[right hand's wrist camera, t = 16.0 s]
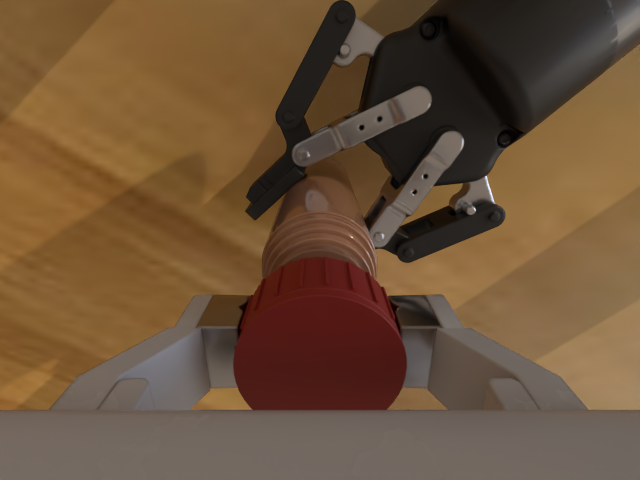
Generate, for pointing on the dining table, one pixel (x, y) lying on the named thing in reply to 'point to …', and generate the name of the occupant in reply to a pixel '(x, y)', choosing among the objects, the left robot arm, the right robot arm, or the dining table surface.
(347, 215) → the bottle
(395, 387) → the cap
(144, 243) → the dining table surface
